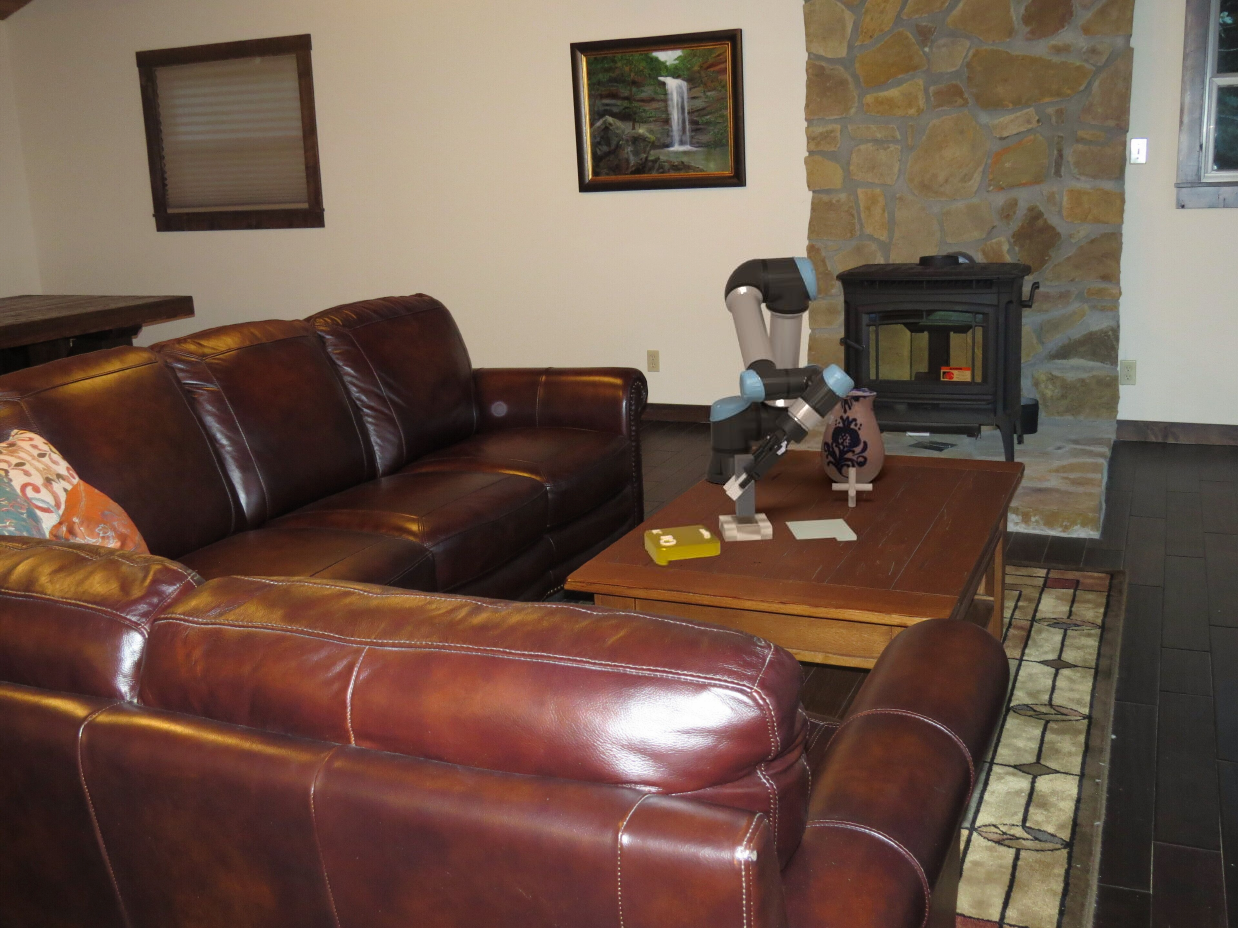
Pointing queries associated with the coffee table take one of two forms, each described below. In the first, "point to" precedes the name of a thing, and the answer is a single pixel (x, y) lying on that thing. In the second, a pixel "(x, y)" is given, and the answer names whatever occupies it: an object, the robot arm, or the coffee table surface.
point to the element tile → (681, 543)
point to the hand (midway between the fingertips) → (728, 493)
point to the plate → (822, 529)
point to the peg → (747, 497)
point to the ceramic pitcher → (853, 439)
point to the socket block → (745, 527)
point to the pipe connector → (852, 487)
